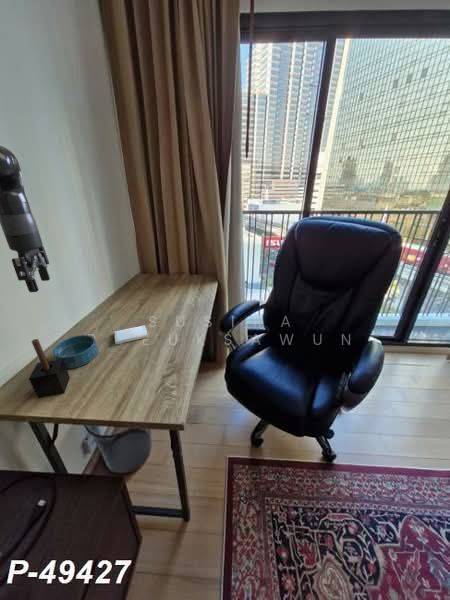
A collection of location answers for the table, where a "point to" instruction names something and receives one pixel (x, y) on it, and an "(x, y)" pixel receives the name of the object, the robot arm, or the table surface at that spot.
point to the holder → (50, 379)
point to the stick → (40, 354)
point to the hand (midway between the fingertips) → (40, 285)
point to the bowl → (76, 350)
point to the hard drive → (130, 334)
